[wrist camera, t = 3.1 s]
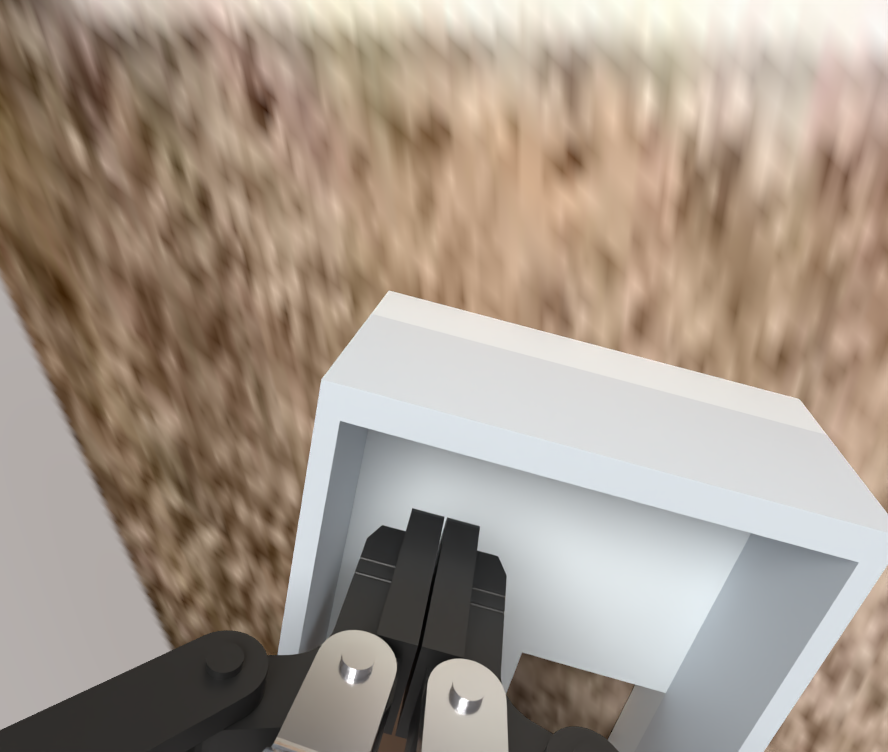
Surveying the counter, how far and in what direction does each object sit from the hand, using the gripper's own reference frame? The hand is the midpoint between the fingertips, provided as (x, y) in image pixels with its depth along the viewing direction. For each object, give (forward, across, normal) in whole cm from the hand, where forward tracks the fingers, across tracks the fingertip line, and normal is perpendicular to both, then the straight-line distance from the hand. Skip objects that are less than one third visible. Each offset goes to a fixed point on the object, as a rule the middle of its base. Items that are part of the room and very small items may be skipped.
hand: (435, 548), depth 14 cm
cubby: (+6, -3, +7) cm, 9 cm away
